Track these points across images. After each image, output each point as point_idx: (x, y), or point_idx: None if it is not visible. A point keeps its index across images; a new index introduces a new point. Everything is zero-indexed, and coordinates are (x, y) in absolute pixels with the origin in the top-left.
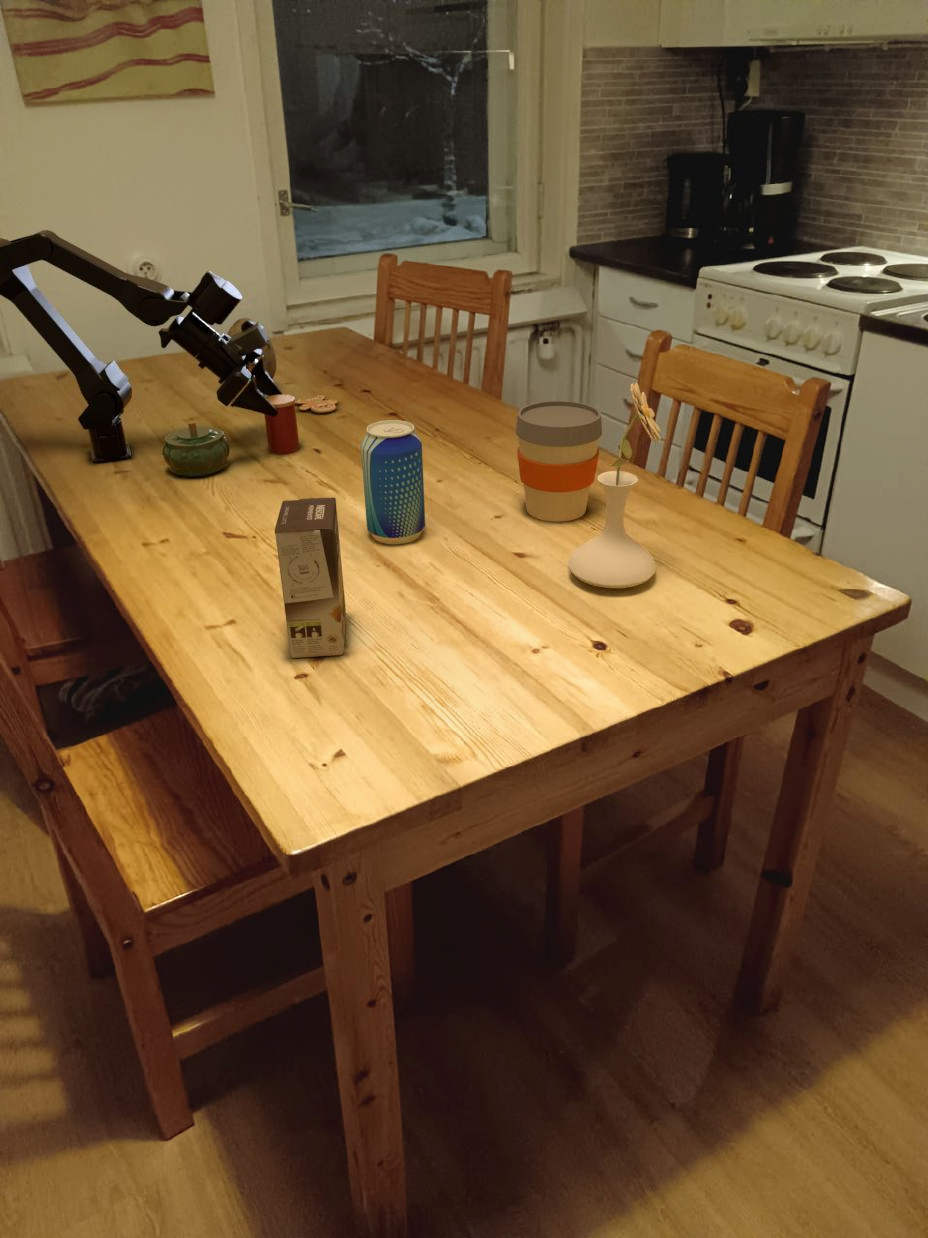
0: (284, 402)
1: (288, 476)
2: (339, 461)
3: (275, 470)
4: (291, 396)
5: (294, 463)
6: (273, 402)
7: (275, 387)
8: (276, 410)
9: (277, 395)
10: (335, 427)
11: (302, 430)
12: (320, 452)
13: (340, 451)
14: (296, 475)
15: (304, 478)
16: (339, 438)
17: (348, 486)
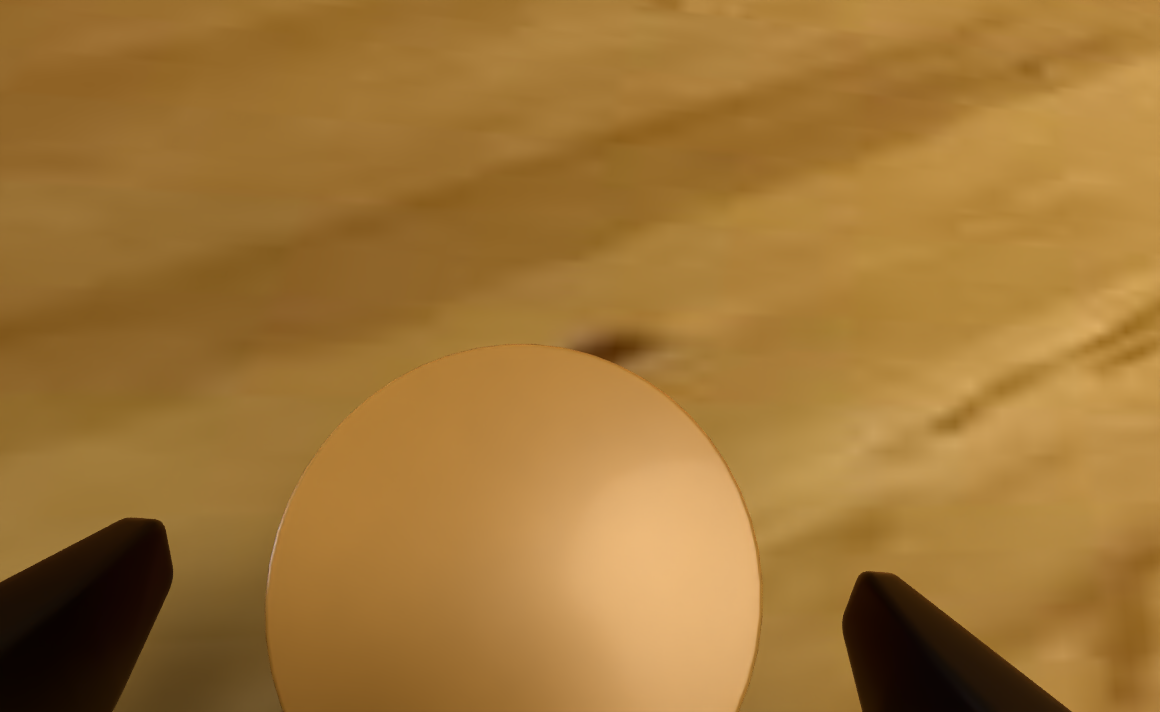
0: (688, 478)
1: (1037, 540)
2: (799, 239)
3: None
4: (423, 384)
5: (815, 504)
6: (667, 646)
7: (38, 635)
8: (914, 591)
9: (313, 596)
10: (153, 224)
11: (125, 451)
12: (633, 337)
13: (634, 224)
14: (1019, 489)
15: (1062, 441)
16: (393, 214)
17: (1150, 221)
